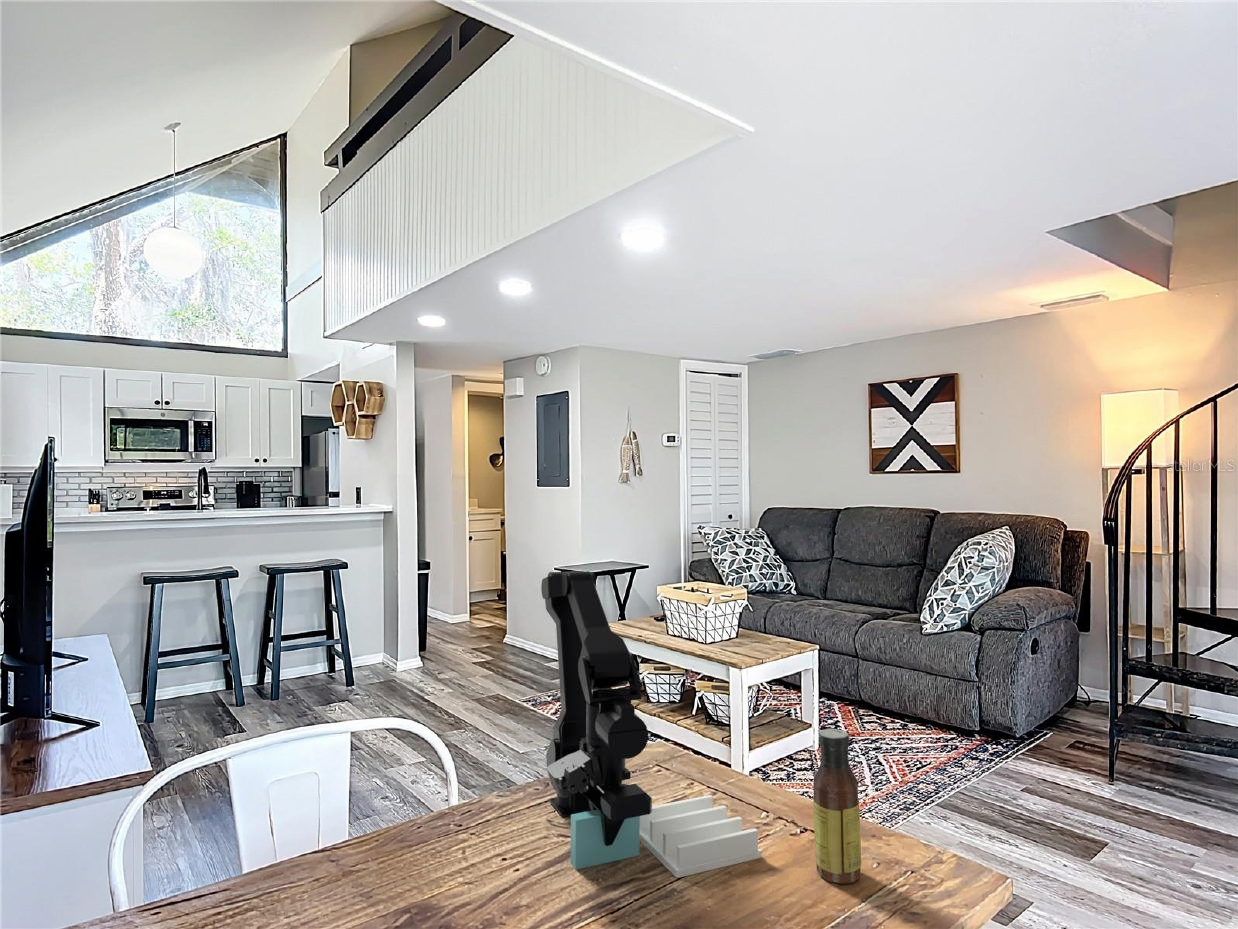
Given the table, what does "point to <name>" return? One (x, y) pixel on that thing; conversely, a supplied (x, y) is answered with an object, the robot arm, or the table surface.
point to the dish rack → (696, 836)
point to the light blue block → (601, 840)
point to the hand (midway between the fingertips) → (605, 841)
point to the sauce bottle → (836, 811)
